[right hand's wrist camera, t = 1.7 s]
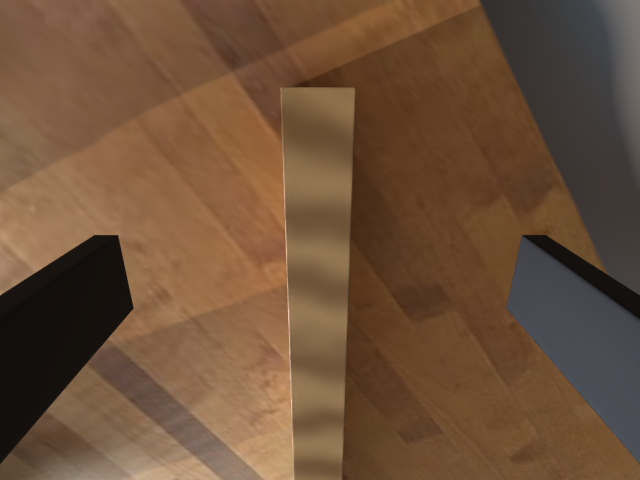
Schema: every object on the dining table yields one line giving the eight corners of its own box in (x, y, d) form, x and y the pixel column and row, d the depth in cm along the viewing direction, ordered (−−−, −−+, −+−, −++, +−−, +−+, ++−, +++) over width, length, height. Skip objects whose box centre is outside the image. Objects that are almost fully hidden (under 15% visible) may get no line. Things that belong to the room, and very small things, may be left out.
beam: (289, 87, 34) (280, 86, 26) (347, 87, 34) (355, 87, 26) (302, 573, 61) (299, 645, 53) (334, 573, 61) (336, 645, 53)
